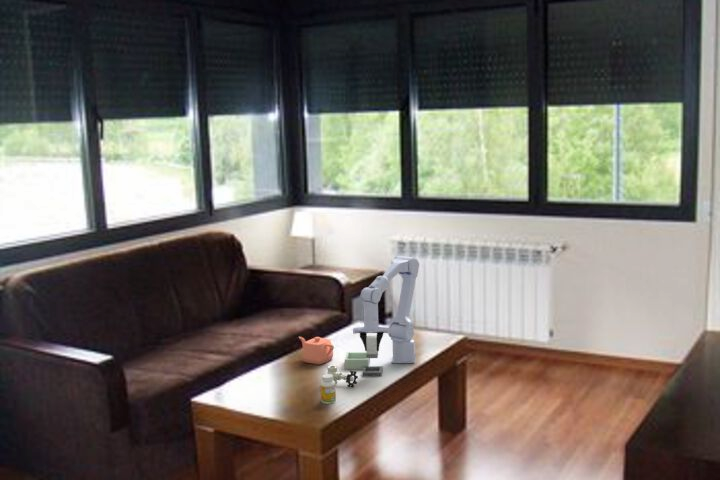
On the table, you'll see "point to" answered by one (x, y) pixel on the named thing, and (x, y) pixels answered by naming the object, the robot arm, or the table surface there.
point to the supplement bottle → (328, 389)
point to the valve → (342, 376)
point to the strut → (371, 347)
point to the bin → (356, 360)
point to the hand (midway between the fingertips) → (372, 350)
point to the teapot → (317, 350)
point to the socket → (372, 368)
